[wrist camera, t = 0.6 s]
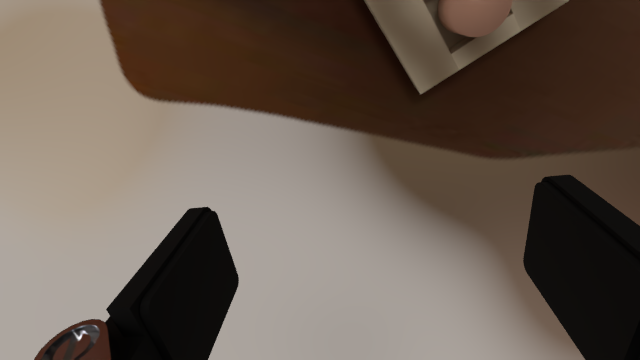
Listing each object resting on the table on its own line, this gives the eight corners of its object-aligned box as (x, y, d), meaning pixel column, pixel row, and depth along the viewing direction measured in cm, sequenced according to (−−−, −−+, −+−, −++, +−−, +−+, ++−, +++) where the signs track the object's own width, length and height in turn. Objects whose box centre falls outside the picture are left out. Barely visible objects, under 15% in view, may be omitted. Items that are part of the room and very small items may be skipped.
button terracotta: (478, -39, 24) (498, -45, 21) (500, 11, 25) (522, 12, 22) (428, -2, 25) (439, -3, 22) (451, 44, 27) (465, 49, 24)
